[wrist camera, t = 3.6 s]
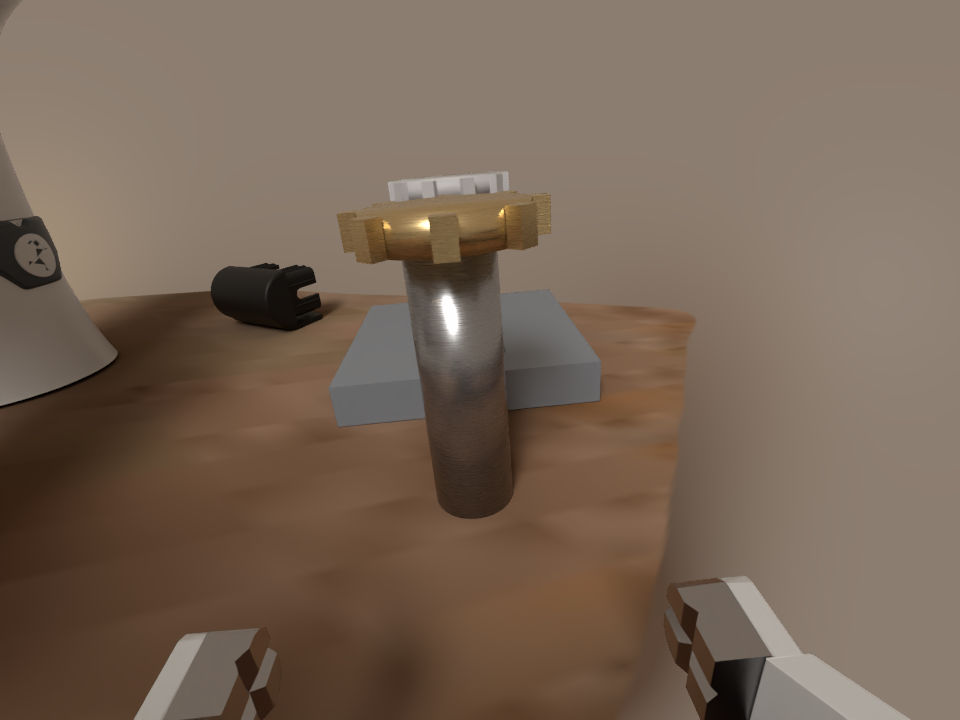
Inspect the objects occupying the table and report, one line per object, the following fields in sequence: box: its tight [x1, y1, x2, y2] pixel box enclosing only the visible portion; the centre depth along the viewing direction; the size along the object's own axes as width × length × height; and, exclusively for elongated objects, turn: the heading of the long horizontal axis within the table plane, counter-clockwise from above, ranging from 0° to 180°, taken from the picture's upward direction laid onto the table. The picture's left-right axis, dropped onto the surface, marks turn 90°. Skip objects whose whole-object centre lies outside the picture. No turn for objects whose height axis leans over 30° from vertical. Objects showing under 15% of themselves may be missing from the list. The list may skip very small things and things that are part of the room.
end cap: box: [211, 263, 322, 330], centre depth 53 cm, size 10×7×7 cm
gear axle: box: [337, 191, 551, 519], centre depth 22 cm, size 8×8×14 cm
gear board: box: [329, 171, 601, 427], centre depth 39 cm, size 18×21×14 cm
